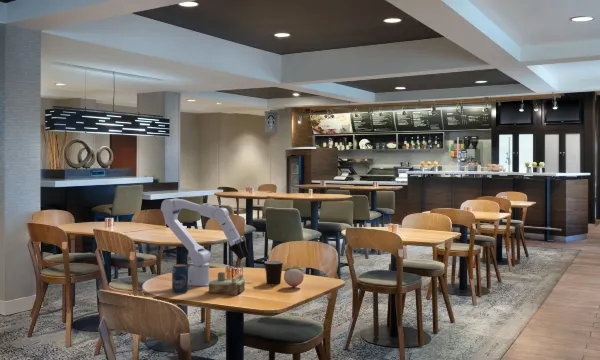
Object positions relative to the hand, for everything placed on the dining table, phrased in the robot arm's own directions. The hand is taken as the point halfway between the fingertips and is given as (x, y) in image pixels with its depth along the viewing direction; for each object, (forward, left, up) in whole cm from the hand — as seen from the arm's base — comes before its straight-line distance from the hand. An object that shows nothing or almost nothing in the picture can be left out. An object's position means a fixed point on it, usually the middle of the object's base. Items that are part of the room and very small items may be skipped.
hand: (244, 257), depth 264 cm
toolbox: (-5, -11, -14) cm, 18 cm away
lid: (-5, -11, -10) cm, 16 cm away
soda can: (-25, -15, -14) cm, 32 cm away
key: (-1, -11, -9) cm, 14 cm away
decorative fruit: (+23, +2, -14) cm, 27 cm away
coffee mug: (+12, +11, -14) cm, 21 cm away
